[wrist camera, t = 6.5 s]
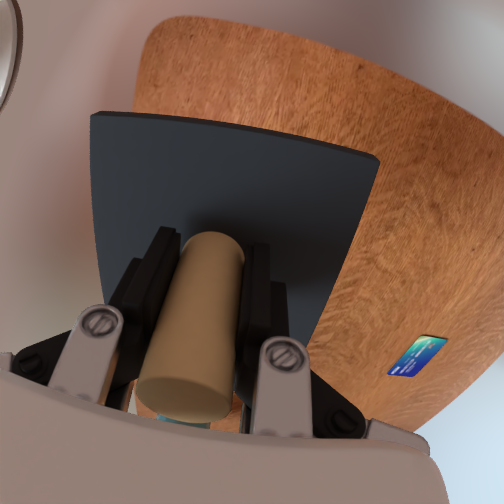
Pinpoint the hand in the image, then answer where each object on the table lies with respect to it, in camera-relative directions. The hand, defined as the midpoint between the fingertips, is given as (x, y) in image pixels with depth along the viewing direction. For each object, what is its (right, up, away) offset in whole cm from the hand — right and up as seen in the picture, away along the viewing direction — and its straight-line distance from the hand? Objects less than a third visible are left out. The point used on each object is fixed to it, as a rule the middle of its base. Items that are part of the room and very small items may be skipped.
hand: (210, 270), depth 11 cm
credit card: (+24, -14, +26) cm, 38 cm away
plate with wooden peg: (0, +1, +1) cm, 2 cm away
